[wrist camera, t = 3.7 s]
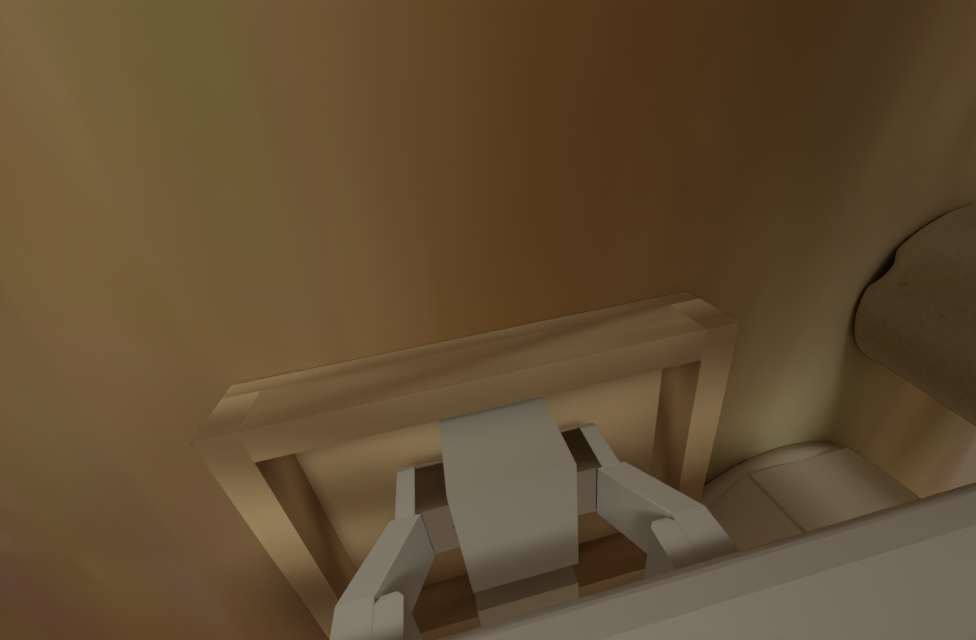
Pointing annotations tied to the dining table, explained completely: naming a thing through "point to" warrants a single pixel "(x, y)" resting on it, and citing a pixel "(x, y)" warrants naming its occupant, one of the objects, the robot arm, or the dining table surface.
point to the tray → (453, 392)
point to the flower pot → (928, 312)
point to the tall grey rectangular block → (510, 492)
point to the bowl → (798, 492)
